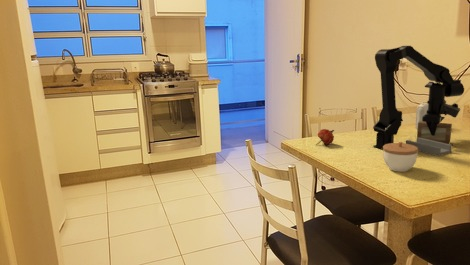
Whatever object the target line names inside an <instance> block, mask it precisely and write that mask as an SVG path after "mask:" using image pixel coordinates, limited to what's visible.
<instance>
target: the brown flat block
mask: <svg viewBox="0 0 470 265" xmlns="http://www.w3.org/2000/svg"><path fill="white" fill-rule="evenodd" d="M452 125H453V124H452V123H445V122H443V123H442V122H440V123H439V124H438V125H437V129H436V132H435V135H434V136H432V135H431V133H430V130H429V128H428V126H427V124H426V122H421V121H419V122H418V129H416V130H417V132H416V139H417V138H423V139H427V140H432V141H436V142H441V143H446V144H449V143H451V139H452V138H451V136H452V127H453V126H452Z"/></svg>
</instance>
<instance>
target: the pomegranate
mask: <svg viewBox="0 0 470 265" xmlns="http://www.w3.org/2000/svg"><path fill="white" fill-rule="evenodd" d="M333 132H335V129H332V130H330V129H326V128H322V129H320V130H319V131H318V133H317V137H318V138H319V139H320V140H319V141H318V142H317V143H316V144H315V146H318V145H319V144H320V143H321V142H322V144H325V145H326V146H330V145H331V144H333V142H334V139H335V138H334V137H335V136H334V134H333Z"/></svg>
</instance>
